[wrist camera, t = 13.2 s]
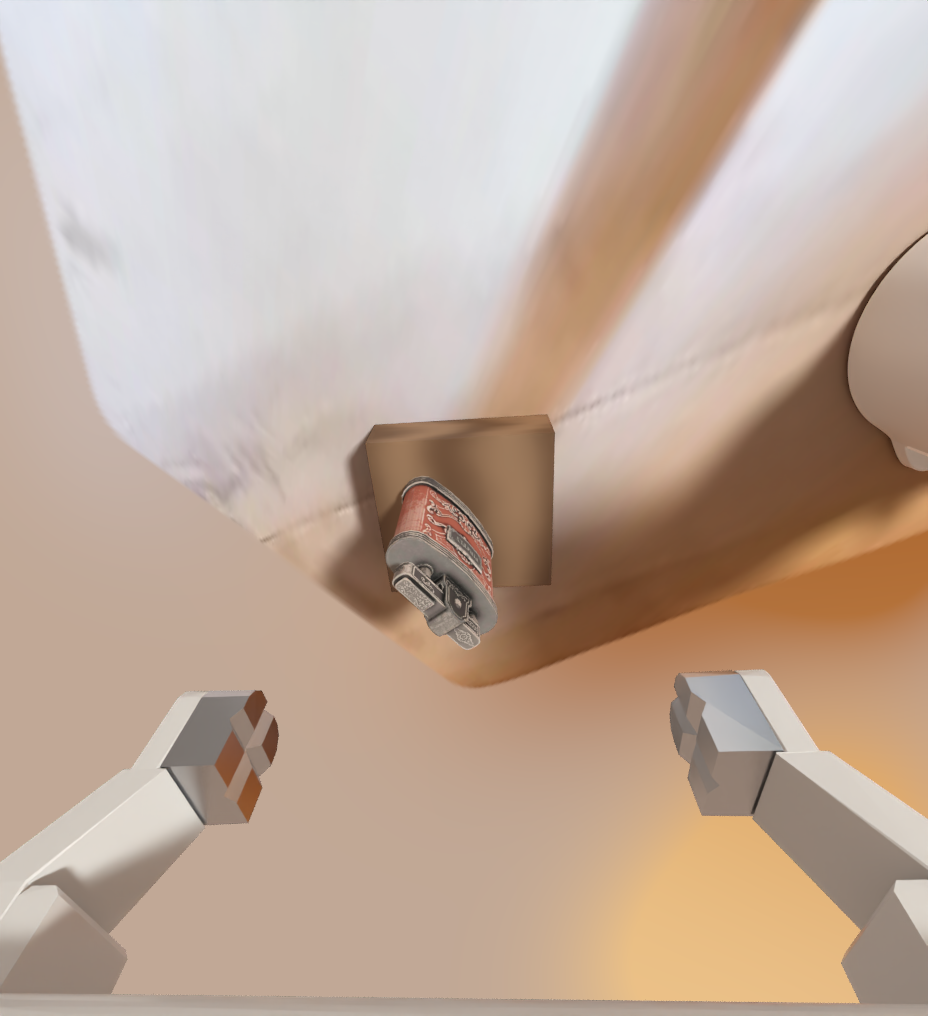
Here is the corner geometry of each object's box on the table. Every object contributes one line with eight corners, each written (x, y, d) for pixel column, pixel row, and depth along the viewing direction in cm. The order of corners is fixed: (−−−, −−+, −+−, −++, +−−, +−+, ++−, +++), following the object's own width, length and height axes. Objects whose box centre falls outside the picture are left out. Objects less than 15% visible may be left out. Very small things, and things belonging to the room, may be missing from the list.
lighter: (504, 546, 34) (514, 651, 26) (467, 570, 36) (465, 678, 27) (429, 465, 32) (412, 553, 23) (391, 494, 33) (361, 589, 24)
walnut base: (547, 414, 33) (554, 432, 30) (544, 557, 39) (550, 584, 36) (374, 424, 34) (365, 443, 31) (397, 564, 40) (391, 591, 37)
